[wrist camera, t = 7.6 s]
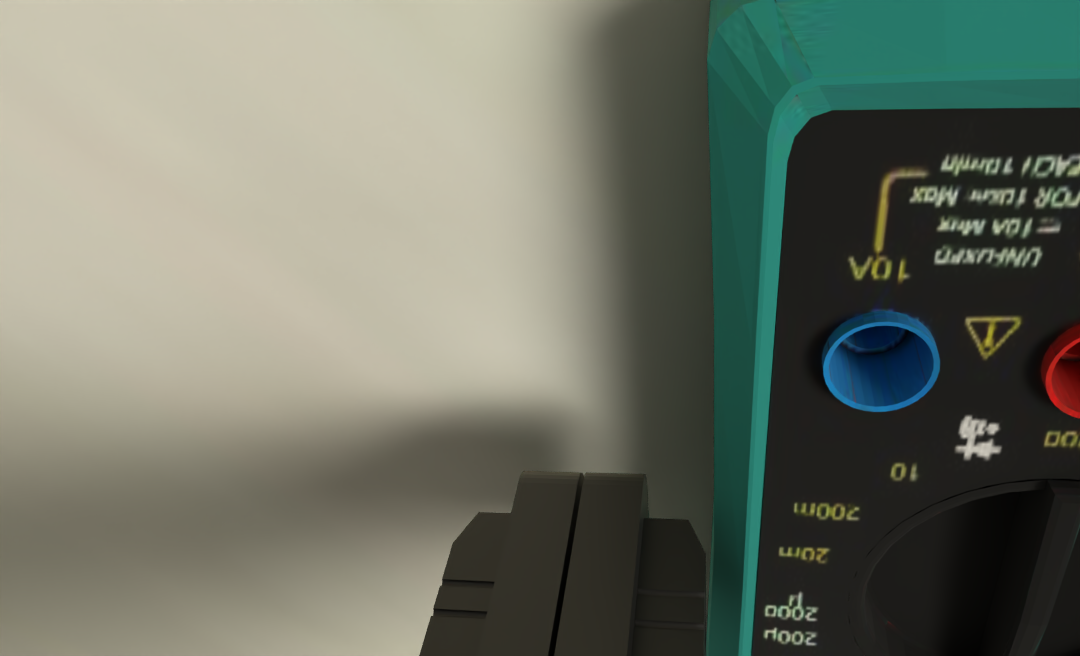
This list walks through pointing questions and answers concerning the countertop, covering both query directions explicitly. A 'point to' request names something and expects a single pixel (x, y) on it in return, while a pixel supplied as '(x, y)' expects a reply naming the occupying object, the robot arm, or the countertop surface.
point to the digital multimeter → (895, 327)
